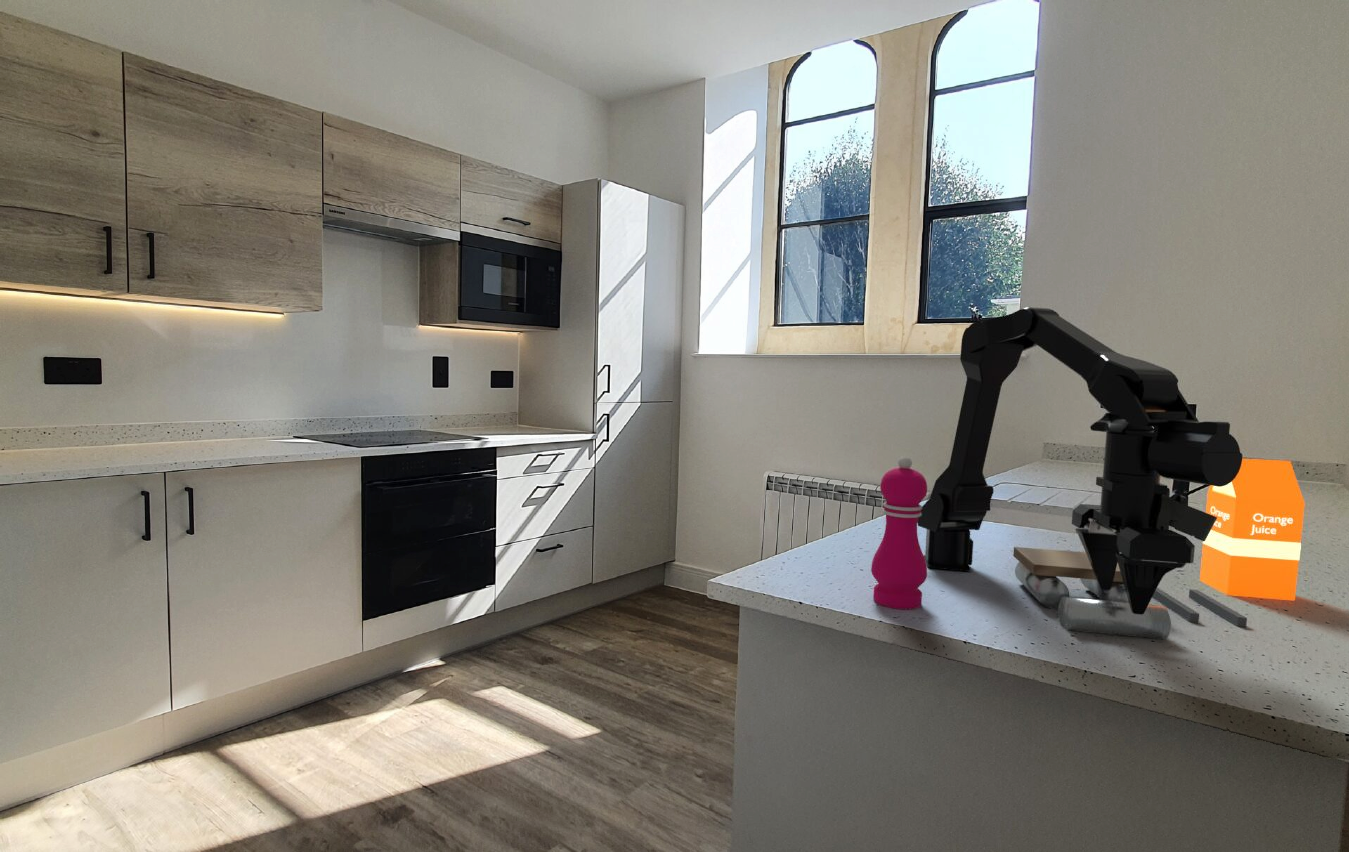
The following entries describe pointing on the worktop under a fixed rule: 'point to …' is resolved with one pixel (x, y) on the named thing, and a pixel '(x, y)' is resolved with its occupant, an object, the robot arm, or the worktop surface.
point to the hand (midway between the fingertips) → (1120, 600)
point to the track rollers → (1064, 588)
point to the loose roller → (1113, 618)
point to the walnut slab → (1058, 563)
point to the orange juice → (1255, 532)
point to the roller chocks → (1204, 601)
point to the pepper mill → (900, 540)
